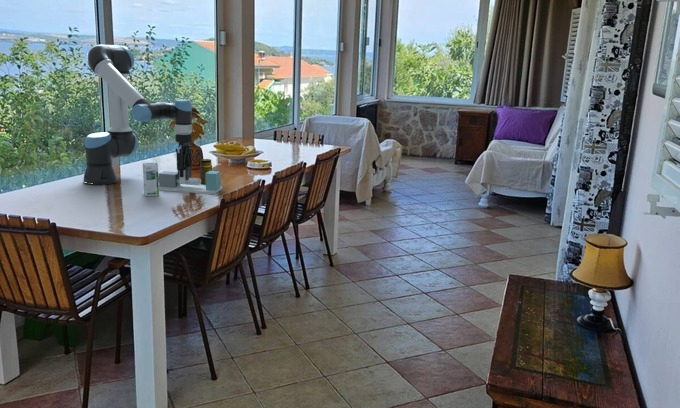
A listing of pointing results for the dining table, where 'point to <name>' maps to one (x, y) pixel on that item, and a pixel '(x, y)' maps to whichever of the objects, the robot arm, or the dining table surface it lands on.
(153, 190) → the syrup box
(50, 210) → the dining table surface
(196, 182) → the tube
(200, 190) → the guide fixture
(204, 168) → the condiment
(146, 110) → the robot arm
